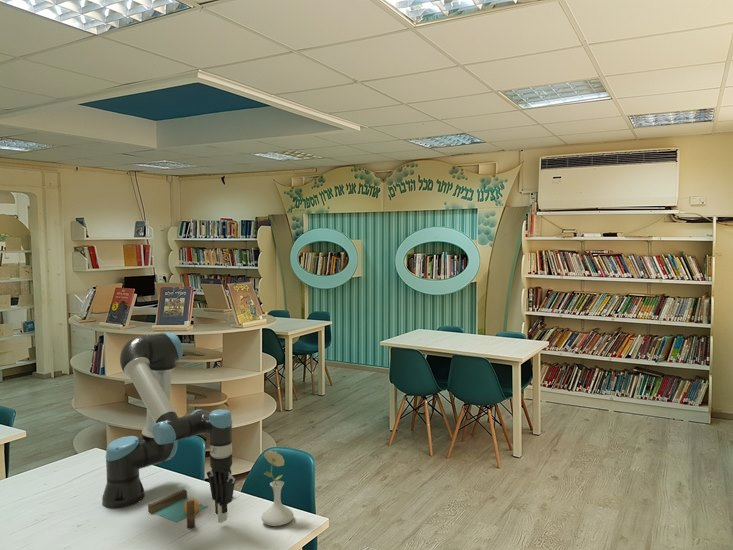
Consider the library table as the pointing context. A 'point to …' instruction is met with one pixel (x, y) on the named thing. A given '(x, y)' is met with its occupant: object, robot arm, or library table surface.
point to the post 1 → (190, 514)
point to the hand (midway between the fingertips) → (222, 520)
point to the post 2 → (216, 508)
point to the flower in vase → (276, 495)
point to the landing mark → (176, 510)
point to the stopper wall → (167, 501)
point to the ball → (195, 506)
